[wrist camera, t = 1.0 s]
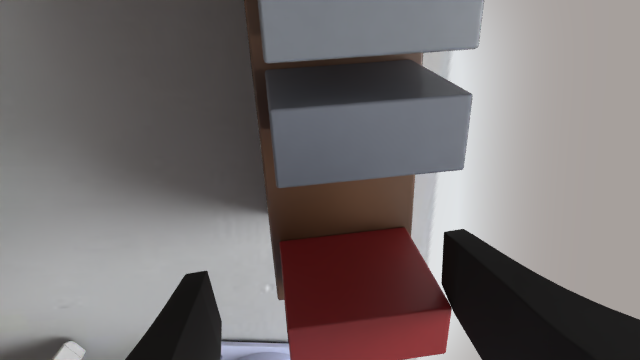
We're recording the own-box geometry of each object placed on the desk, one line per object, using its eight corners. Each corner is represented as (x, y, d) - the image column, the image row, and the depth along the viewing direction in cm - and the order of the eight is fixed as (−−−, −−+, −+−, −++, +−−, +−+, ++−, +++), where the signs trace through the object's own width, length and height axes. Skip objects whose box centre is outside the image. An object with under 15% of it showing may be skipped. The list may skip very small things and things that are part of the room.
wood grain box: (369, 204, 24) (408, 284, 18) (272, 214, 24) (278, 301, 17) (373, -137, 17) (441, -199, 11) (234, -134, 16) (221, -198, 10)
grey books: (408, 117, 15) (464, 170, 11) (270, 129, 14) (276, 189, 10) (424, -175, 11) (517, -255, 7) (240, -173, 11) (231, -258, 7)
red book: (402, 266, 18) (446, 354, 14) (283, 281, 17) (292, 376, 13) (405, 226, 17) (452, 307, 13) (279, 240, 16) (287, 330, 12)
